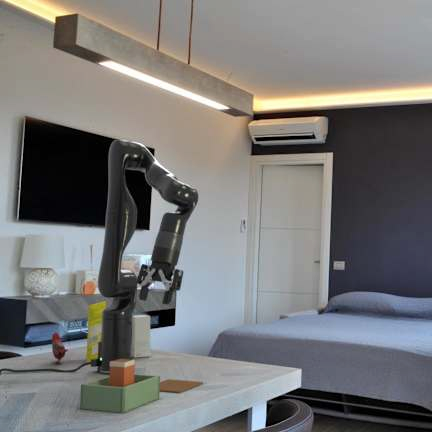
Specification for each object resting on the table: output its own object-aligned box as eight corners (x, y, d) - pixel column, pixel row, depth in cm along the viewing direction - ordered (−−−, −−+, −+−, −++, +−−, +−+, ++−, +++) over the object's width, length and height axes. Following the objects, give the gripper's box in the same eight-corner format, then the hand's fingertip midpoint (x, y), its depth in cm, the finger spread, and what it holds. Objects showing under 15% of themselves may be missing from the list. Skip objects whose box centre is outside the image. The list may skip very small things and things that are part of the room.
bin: (79, 408, 149) (80, 384, 150) (119, 394, 164) (120, 372, 164) (122, 412, 146) (123, 388, 146) (159, 398, 160) (160, 375, 161)
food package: (102, 355, 219) (104, 301, 220) (105, 355, 219) (107, 301, 220) (84, 363, 204) (87, 305, 205) (88, 363, 204) (90, 305, 205)
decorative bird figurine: (57, 359, 210) (58, 331, 210) (71, 368, 197) (72, 337, 197) (48, 360, 208) (49, 332, 208) (62, 369, 195) (63, 338, 195)
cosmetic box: (150, 356, 218) (151, 316, 219) (133, 358, 215) (134, 317, 215) (145, 353, 225) (146, 313, 226) (128, 354, 222) (130, 314, 222)
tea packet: (108, 404, 153) (109, 361, 154) (118, 400, 157) (120, 358, 158) (123, 406, 152) (124, 362, 153) (133, 402, 156) (135, 359, 157)
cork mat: (142, 389, 169) (142, 388, 169) (168, 380, 181) (168, 379, 181) (179, 393, 166) (179, 391, 166) (203, 383, 178) (203, 382, 178)
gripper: (194, 253, 176) (181, 307, 173) (157, 247, 181) (144, 300, 178) (178, 248, 169) (164, 304, 166) (139, 242, 175) (125, 297, 171)
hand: (153, 302), depth 172 cm, fingers open, 8 cm apart
